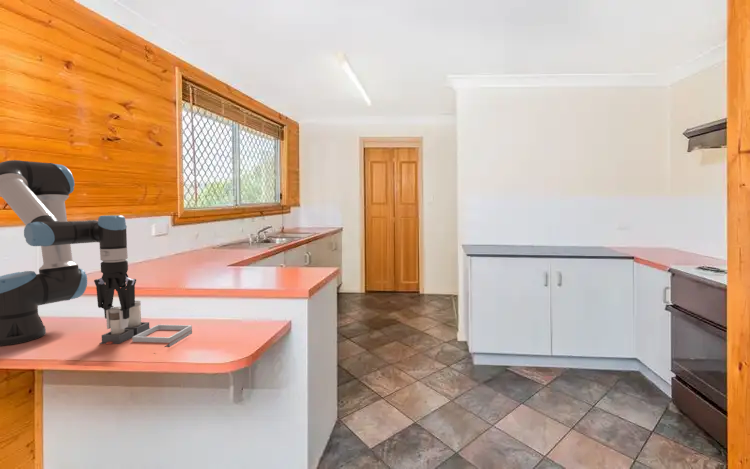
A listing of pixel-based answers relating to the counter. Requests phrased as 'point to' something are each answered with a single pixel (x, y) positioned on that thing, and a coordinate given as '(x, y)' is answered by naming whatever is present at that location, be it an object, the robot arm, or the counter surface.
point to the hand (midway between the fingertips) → (117, 327)
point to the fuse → (135, 315)
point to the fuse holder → (124, 334)
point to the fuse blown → (115, 321)
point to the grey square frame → (183, 328)
